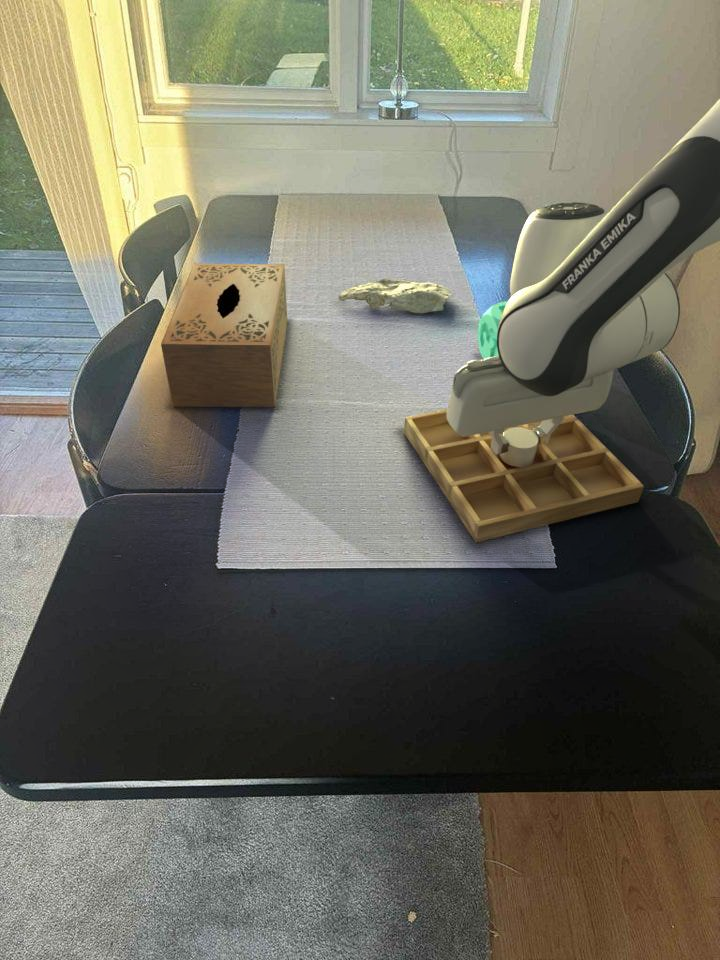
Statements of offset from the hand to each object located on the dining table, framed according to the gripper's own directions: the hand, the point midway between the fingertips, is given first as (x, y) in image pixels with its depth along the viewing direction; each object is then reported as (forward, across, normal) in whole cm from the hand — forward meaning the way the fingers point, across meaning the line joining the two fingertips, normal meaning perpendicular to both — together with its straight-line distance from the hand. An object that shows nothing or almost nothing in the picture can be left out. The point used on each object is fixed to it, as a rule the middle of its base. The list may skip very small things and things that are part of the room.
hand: (519, 446), depth 88 cm
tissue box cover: (+3, -29, +37) cm, 47 cm away
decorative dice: (+3, +12, +24) cm, 27 cm away
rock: (+3, +3, +47) cm, 47 cm away
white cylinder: (+2, 0, 0) cm, 2 cm away
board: (+3, 0, 0) cm, 3 cm away
